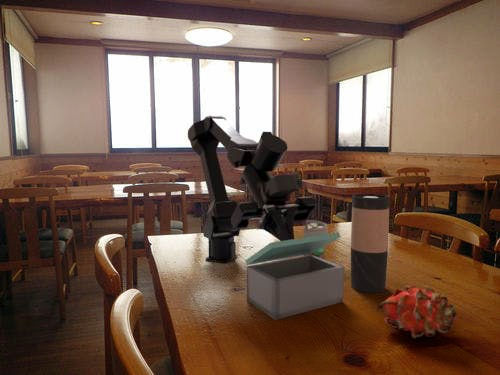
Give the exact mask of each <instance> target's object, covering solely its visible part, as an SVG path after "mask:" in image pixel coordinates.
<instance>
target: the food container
mask: <svg viewBox="0 0 500 375" xmlns="http://www.w3.org/2000/svg"><path fill="white" fill-rule="evenodd" d="M325 234H330V233H329V227H328V226H327V223H325V222H323V221H318V220H312V219H311V220H310V219H307V220H306V221H305V227H304V228H303V234H302V235H303V237H302V238H305V237H312V236H318V235H325ZM325 249H326V246H324V247H322V248H320V249H319V250H317V251H315V252H313V253H311V254H307V255H313V256H316V257H319V258H321V259H324V260H325ZM302 256H306V255H302Z"/></svg>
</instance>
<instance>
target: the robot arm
mask: <svg viewBox="0 0 500 375" xmlns="http://www.w3.org/2000/svg"><path fill="white" fill-rule="evenodd" d="M187 140H188V141H189V143H190V145H191V148H192V150H194V152H195V153H196V154H197V155H198V156H199V158H200V162H201V163H200V164H201V167H202V172H203V175H204V176H203V177H204V180H205V184H206V190H207V193H208V197H209V202H210V204H209V207H208V211H207V213H206V216H207V219H206V221H205V223H204V225H203V227H202V235H203V237H204V238H206V239H208V240H207V241H208V256H207V257H205V261H208V262H209V261H211V262H217V263H223V264H227V263H229V262H230V261H232V260H234V259H236V258H237V257H238V255H237V252H236V250H237V246H236V245H237V244H236V242H235V237H239V236H240V232H241V230H244V229H247V227H248V226H249V224H250V222H249V220H257V219H258V220H259V222H260V224H259V226H258V229H259V230H263V231H265V232H267V233H269V234H270V235H272V236H273V237H275V238H276V239H278V240H279V241H285V240H292V239H295V231H294V222H295V223H298V222H300V223H301V222H306V220H309V219H310V217H311V216H312V214H313V213H314V211H315V210H316V209H317V208H318V206H319V204H318V202H317V201H316V199H315V197H314V196H301V197H300V196H299V197H297V198H296V199H295V200H294V202H293V203H292V204H290V203H289V204H287V202H289V201H290V199H291V196H290V195H291V194H293V193H295V192H297V191H298V190H299V189H300V188H302V187H303V185H304V183H303V178H302V177H301V176H300V174H299V173H298V172H291V173H290V174H279V175H275V176H273V177H272V174H271V172H274V171H276V170H277V169H278V166H279V164H280V163H281V162H282V159H283V158H284V156H285V154H286V152H287V151H288V143H287V142H286V141H285V140H283V139H282V138H280V137H279V136H277V135H274V134H273V133H272V131H262V133H261V134H260V138H259V141H258V142H257V141H255V140H253V139H250V138H247V137H244V136H242V135H241V134H240V133H239V132H238V131H237V130H236V129H235V128H234V127H233V126H232V125H231V124H230V123H229V122H228V121H227V119H226V117H224V116H222V115H208V116H205V117H204V118H203V119H202V120H198V121H197V122H194V123H192V124H191V125H190V127H189V128H188V130H187ZM219 144H221V145H222V146H223V147H224V148H225V150H226V151H227V155H226V157H227V160H228V161H229V163H230V164H231V166H232V167H233V168H234V169H238V168H244V169H243V171H242V173H241V177H240V180H239V183H240V185H246V186H247V188H248V190H249V192H250V194H251V196H250V198H249V200H250V201H243V202H242V201H241V202H238V203H237V200H231V199H230V198H229V196H228V192H227V188H226V183H225V179H224V176H223V172H222V168H221V165H220V161H219V160H220V159H219V156H218V152H217V149H218V146H219Z"/></svg>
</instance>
